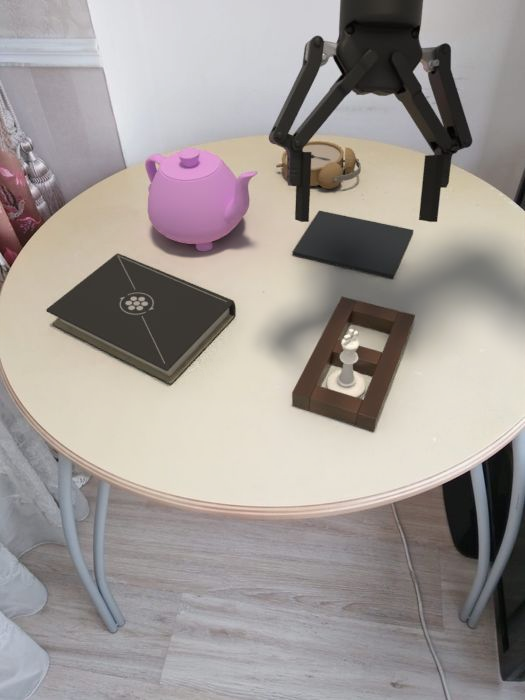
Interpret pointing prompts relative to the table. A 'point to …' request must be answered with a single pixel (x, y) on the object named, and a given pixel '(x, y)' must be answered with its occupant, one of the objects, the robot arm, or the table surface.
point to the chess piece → (348, 370)
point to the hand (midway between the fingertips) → (366, 221)
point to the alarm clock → (327, 164)
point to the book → (143, 316)
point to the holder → (369, 362)
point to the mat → (354, 244)
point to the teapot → (195, 197)
